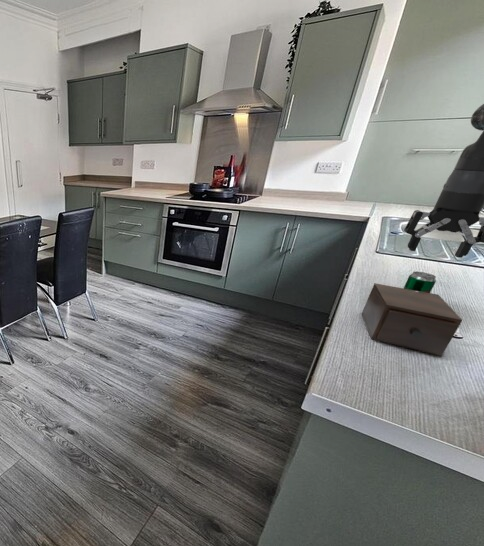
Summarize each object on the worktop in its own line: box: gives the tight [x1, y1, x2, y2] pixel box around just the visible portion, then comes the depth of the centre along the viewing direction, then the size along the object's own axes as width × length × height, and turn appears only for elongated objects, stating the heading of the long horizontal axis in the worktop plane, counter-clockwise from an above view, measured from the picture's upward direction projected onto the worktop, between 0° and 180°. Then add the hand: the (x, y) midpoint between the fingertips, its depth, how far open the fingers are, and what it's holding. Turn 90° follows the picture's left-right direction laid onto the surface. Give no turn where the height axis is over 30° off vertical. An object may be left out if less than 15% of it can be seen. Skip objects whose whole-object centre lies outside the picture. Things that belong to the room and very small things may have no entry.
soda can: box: [403, 271, 437, 293], centre depth 85 cm, size 5×5×12 cm
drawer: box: [376, 309, 459, 356], centre depth 75 cm, size 15×11×8 cm
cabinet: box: [361, 282, 463, 357], centre depth 77 cm, size 15×12×10 cm
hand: (434, 253), depth 81 cm, fingers open, 8 cm apart
